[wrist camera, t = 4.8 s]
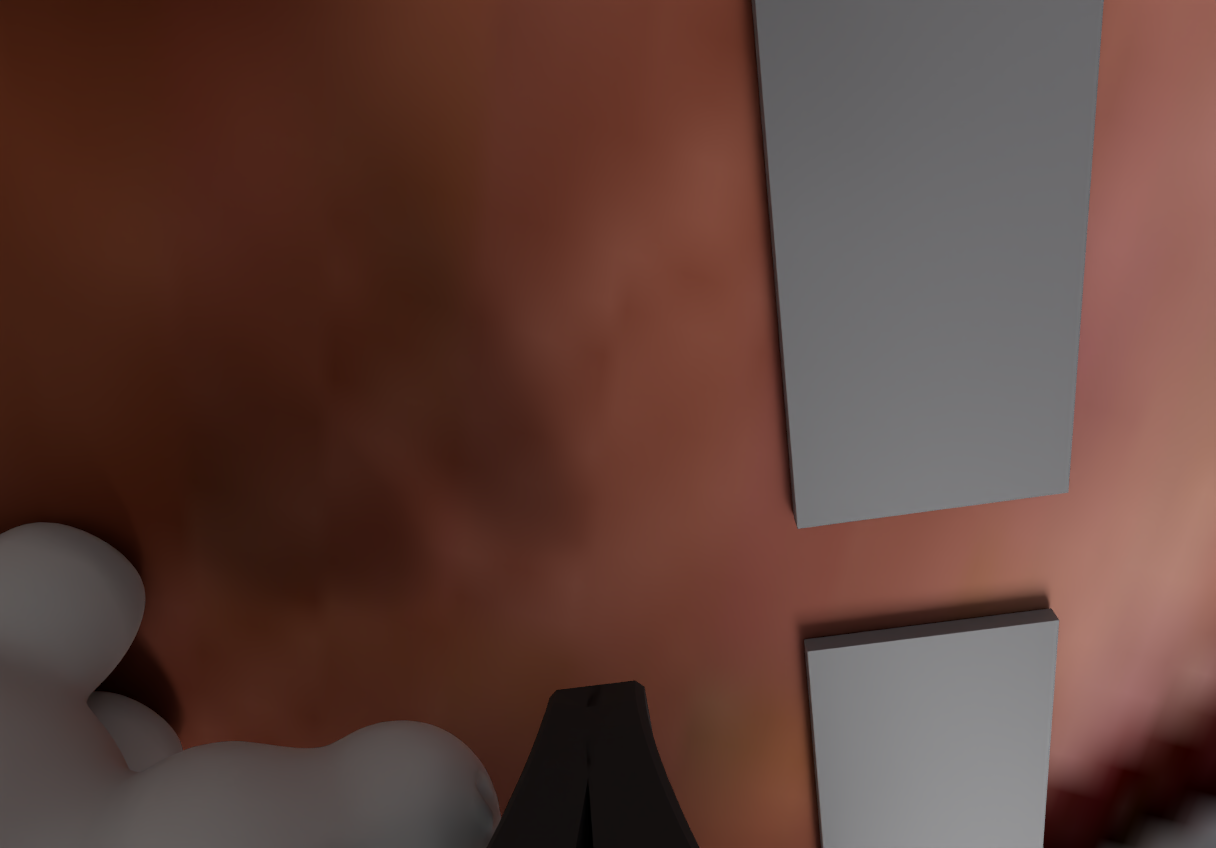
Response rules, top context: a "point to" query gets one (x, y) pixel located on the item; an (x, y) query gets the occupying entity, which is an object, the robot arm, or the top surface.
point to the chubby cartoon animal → (152, 753)
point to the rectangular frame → (929, 367)
